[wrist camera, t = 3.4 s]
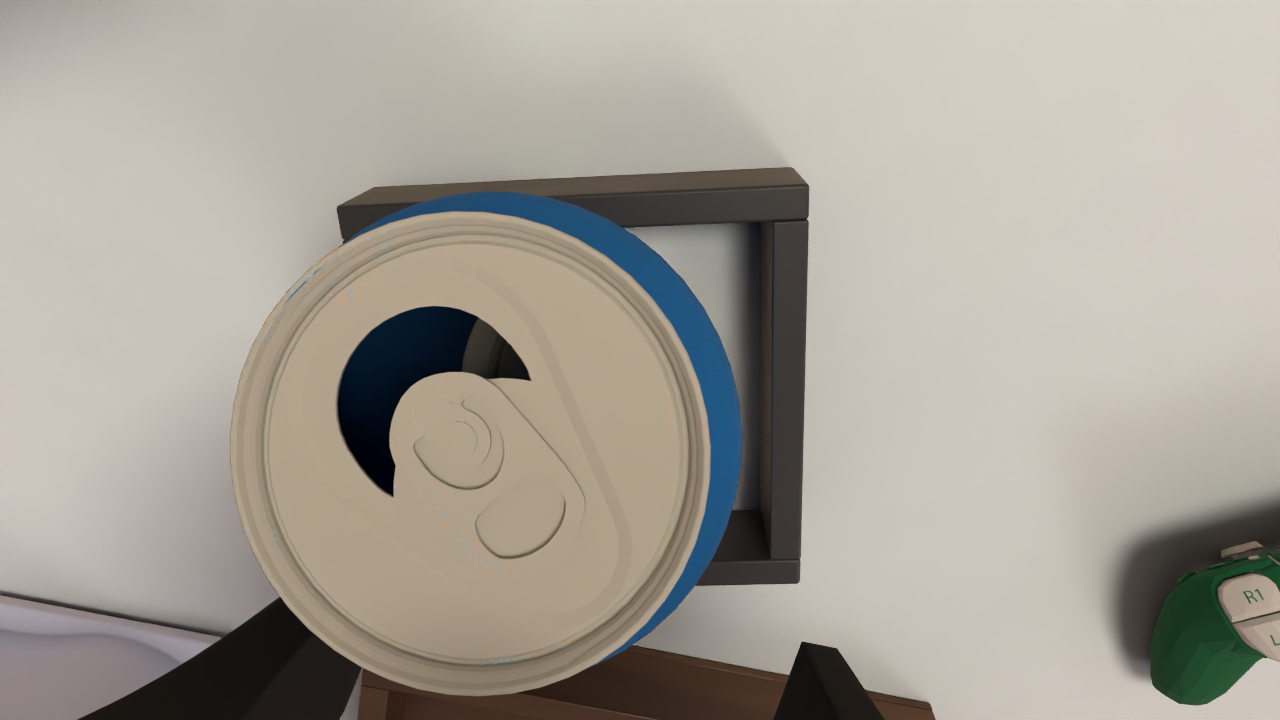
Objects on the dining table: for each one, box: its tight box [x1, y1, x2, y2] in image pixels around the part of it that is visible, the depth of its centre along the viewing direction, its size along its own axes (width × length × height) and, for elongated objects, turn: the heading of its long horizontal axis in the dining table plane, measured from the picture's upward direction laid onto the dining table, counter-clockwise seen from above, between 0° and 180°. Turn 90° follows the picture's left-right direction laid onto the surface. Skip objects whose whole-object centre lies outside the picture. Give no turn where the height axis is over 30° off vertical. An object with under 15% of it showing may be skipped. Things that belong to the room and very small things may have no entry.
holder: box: [337, 167, 809, 586], centre depth 21 cm, size 11×11×2 cm
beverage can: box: [230, 191, 742, 696], centre depth 15 cm, size 6×6×12 cm
